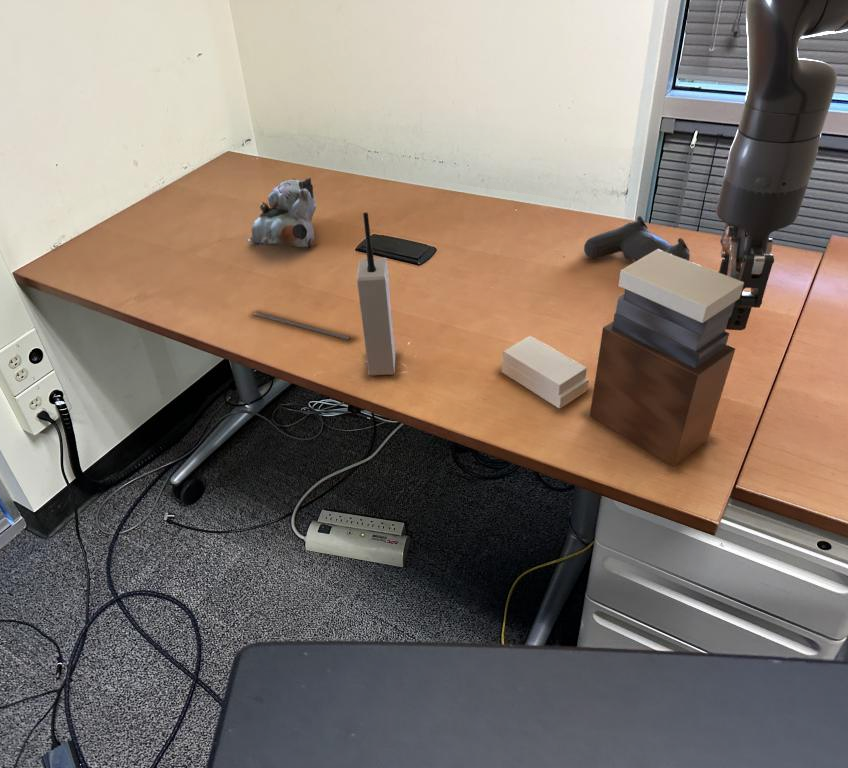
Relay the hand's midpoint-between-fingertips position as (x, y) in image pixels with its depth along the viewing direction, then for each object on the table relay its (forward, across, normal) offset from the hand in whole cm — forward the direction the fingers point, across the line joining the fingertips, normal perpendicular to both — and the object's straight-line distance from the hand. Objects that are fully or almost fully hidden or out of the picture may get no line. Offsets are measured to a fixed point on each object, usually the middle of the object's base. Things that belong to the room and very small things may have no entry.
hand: (729, 307), depth 80 cm
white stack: (+14, 0, +20) cm, 24 cm away
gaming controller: (+14, +31, +8) cm, 34 cm away
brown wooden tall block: (+14, -7, +7) cm, 17 cm away
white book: (-6, -7, +7) cm, 12 cm away
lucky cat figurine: (+13, +34, +72) cm, 81 cm away
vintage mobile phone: (+14, 0, +43) cm, 45 cm away
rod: (+14, +7, +59) cm, 61 cm away
